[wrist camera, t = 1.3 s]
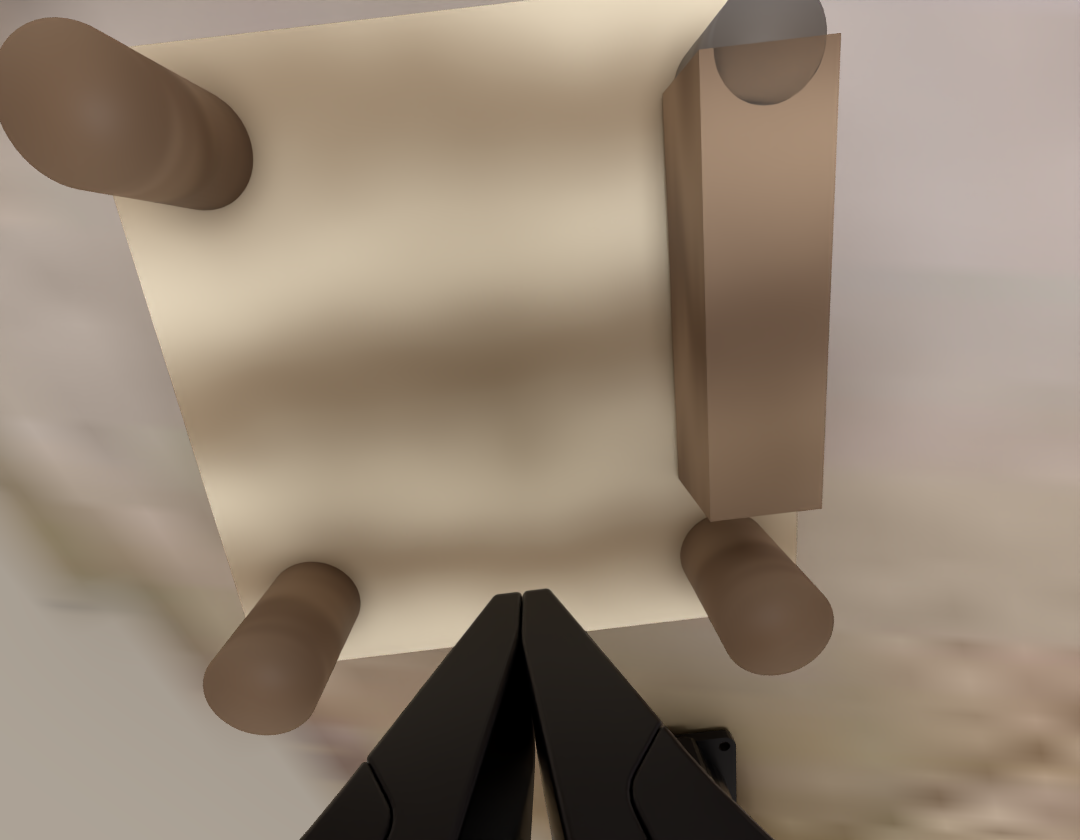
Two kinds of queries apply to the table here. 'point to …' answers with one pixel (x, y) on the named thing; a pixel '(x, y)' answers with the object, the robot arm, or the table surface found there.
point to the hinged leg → (752, 255)
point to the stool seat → (415, 324)
